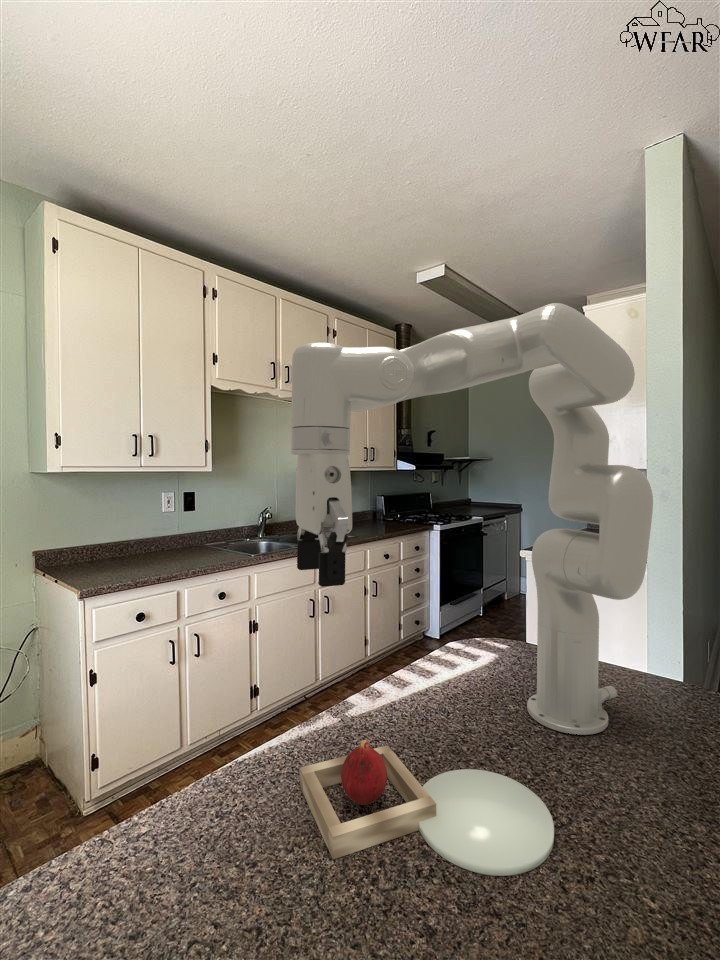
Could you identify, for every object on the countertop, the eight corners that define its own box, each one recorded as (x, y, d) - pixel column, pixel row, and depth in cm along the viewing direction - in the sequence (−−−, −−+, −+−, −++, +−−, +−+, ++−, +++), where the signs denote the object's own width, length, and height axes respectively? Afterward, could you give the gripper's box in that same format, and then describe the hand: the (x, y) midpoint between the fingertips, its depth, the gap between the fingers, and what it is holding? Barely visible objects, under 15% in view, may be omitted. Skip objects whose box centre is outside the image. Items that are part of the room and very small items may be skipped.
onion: (383, 824, 57) (383, 758, 57) (336, 817, 59) (335, 752, 58) (390, 791, 63) (390, 731, 63) (347, 786, 64) (346, 726, 64)
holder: (387, 762, 69) (387, 745, 69) (436, 824, 57) (436, 803, 57) (299, 786, 64) (299, 767, 64) (333, 859, 52) (332, 837, 52)
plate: (493, 764, 69) (493, 757, 69) (586, 846, 54) (586, 838, 54) (392, 795, 62) (392, 787, 62) (466, 897, 48) (466, 887, 48)
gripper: (375, 441, 55) (373, 590, 56) (327, 446, 71) (326, 562, 72) (312, 439, 52) (310, 596, 53) (276, 445, 68) (275, 565, 69)
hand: (319, 576), depth 62 cm, fingers open, 9 cm apart
